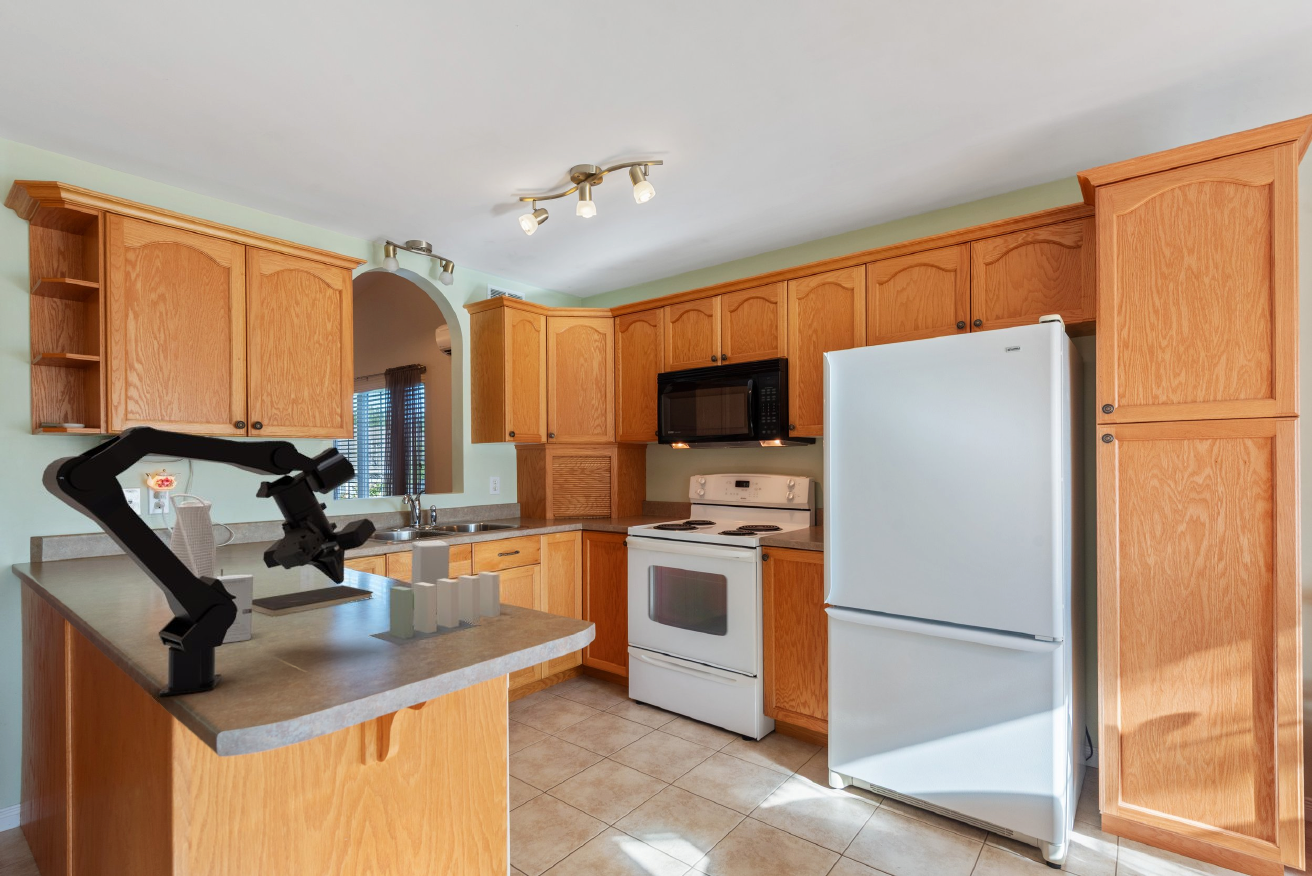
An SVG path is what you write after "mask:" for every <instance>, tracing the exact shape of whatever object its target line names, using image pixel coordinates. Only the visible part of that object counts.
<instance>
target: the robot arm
mask: <svg viewBox="0 0 1312 876" xmlns="http://www.w3.org/2000/svg"><path fill="white" fill-rule="evenodd" d="M147 455H150V456H157V457H166V458H175V459H182V460H183V459H184V460H189V461H197V462H198V461H201V462H205V463H206V462H207V463H216V464H224V465H228V466H232V467H234V468H237V469H239V470H242V471H246V472H249V473H253V474H256V475H259V476H260V475H261V476H280V477H278V478H277V479H275V480H273V481H267V480H266V481H265V480H264V481H261V482H260V487H259V489H257V491H256V494H255V497H256V498H257V499H259V498H260V499H270V498H271V497H272V499H273V501H275V503H276V504H275V505H277V507H278V509H279V511H280V512H281V514H282V516H283V518H284V519H285V521H283V523H281V526H282V527H281V529H282V530H283V534H284V536H283V537H282V538H280V539H279V538H278V539H277V540H276V541H275V542H274V543H273V544H272V545H271V546H269V547H268V548H267V549H266V550H265V551H264V552H263V557H262V558H263V559H262V560H263V561H264V563H265V565H266V568H268V569H271V568H276V567H280V566H281V567H282V568H283V569H284V570H291V569H292V568H296V567H303V566H306V565H309V566H313V567H314V568H316V569H318V570H319V571H320V572H321V573H323V574H324V575H325V576H326V577H328V578H329V579H330V580H331V581H333V582H334V583H335V584H336V585H340V584H342V583H343V582H345V552H346V551H347V550H348V551H349V550H352V549H356V548H359V547H362V546H363V545H364V544H365V543H366V542H367V541H368V540H369V539H370V537H371V536H372V535H373V534H374V533H375V532H376V531H377V529H376V526H375V525H374V522H373V521H372V520H371V519H368V518H362V519H357V520H355V521H350V522H348V523H347V524H346V525H345V526H344V527H343V528H342V529H341V530H339V531H335V530H336V529H337V528H338V526H337V524H336V522H330V521H329V519H328V517H327V515H326V514H325V512H324V511H325V510H326V509H327V508H328V507H327V505H326V503H325V502H319V500H318V498H317V496H316V495H315V493H320V494H322V495H326V494H328V493H330V492H332V491H333V490H336V489H337V488H339V487H341V486H342V485H344V484H346V483H348V482H349V481H351V480H353V479H354V478H355V476H356V472H355V467H354V466H353V463H352V462H351V461H349V459H348V458H347V457H346V456H345V455H344V454H343V453H341V452H339V450H338V448H337V447H335V446H334V447H328V448H326V449H325V450H323V451H322V452H320V453H319V454H317V455H315V456H313V457H309V456H308V455H305V454H303V453H301V452H298V449H297V448H296V446H295V444H293V443H292V442H289V441H287V440H251V441H250V440H246V441H245V440H244V441H243V440H242V441H241V440H232V439H224V438H219V437H212V436H211V437H210V436H205V435H198V434H190V433H184V432H176V431H171V430H165V429H164V430H163V429H157V428H154V427H151V426H149V425H139V426H133V427H132V426H131V427H128V428H125V429H123V431H121V433H119V434H116V435H115V436H113V437H112V438H110V439H108V440H105V441H104V442H102V443H100V444H97V445H95V446H94V447H91V448H90V449H87V450H86V451H83V452H82V453H80V454H78V455H72V456H71V455H70V456H63V457H59V458H57V459H55V460H53V461H52V462H51V463H50V464H48V465H47V466H46V467H45V469H44V471H43V475H42V479H41V483H42V485H43V486H44V488H45V490H46V491H47V492H49V494H51V495H52V496H54V497H56V498H57V499H58V500H60V501H61V502H62V503H64V504H65V505H67V506H69V507H70V508H71V509H74V510H75V511H77V512H79V513H80V514H81V515H84V516H85V517H87V518H88V519H90V520H91V521H93V522H95V523H96V525H98V526H99V527H100V528H101V530H102V531H104V533H105V534H106V535H108V537H110V539H111V540H113V542H114V543H115V544H116V545H117V546H118V547H119V548H120V549H121V551H123V552H124V553H125V555H127V556H128V557H129V558H130V559H131V560H132V561H133V562H134V563H135V564H136V565H137V566H138V567H139V568H140V569H141V571H142V572H144V573H145V574H146V575H147V576H148V577H149V579H150V580H152V582H154V584H155V585H156V586H158V588H159V589H161V591H162V592H163V594H164V596H165V598H166V601H167V604H168V606H169V608H170V611H171V612H172V613H173V615H174V616H175V617H174V616H173V618H171V620H169V621H168V623H166V624H165V625H164V627H163V628H161V629H160V630H159V632H158V636H159V639H160V641H161V643H162V644H163V646H168V656H167V657H168V659H167V660H168V664H167V667H168V670H167V671H168V673H167V684H166V685H165V686H164V687H163V688H162V689H161V690H160V691H159V694H158V695H159V696H160V697H164V696H172V695H181V694H189V693H196V692H204V691H210V690H214V688H215V687H216V685H217V684H218V683H219V681H220V680H222V678H223V677H222V676H223V675H222V673H217V674H216V648H217V647H221V646H223V644H224V643H223V640H224V638H225V635H226V633H227V630H228V629H229V628H230V627H231V625H232V624H233V623H234V621H235V619H236V615H237V612H238V609H237V606H236V604H235V603H234V602H233V601H232V600H233V599H236V596H233V595H231V594H230V593H229V592H227V590H226V589H225V587H224V585H223V584H222V582H221V581H220V580H219V579H217V577H216V578H215V577H213V578H211V577H206V576H201V577H200V578H197V577H196V576H194V575H193V573H192V572H191V571H190V570H189V569H188V568H187V567H186V566H185V565H184V564H183V563H182V562H181V561H180V560H179V558H178V557H177V556H176V555H175V554H174V553H173V552H172V551H171V550H170V547H169V546H168V545H166V543H164V541H163V540H162V539H161V538H160V537H159V536H158V535H157V534H156V533H155V531H154V530H153V529H151V527H150V526H149V525H148V524H147V522H146V521H144V519H142V518H141V517H140V516H139V514H138V513H137V512H136V511H135V510H134V509H133V508H132V507H131V505H130V504H129V502H128V501H127V497H126V494H125V492H124V490H123V487H122V485H121V483H120V482H119V479H118V478H117V476H119V475H121V474H122V473H124V472H126V471H127V470H128V469H130V468H131V467H132V466H134V465H135V464H136V463H137V462H139V461H140V460H141V459H143V458H144V457H146V456H147ZM293 472H299V473H296V474H295V475H293V476H291V475H289V474H291V473H293Z"/></svg>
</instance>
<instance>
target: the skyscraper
mask: <svg viewBox="0 0 1312 876" xmlns="http://www.w3.org/2000/svg"><path fill="white" fill-rule="evenodd" d="M176 497H187V498H192V499H195V500H185V501H181V502H180V503H179V505H178V506H177V504H176V501H175V498H176ZM169 499H170V501H171V503H172V507H173V508H174V512H175V516H176V517H175V521H174V523H173V528H172V532H171V533H172V534H171V536H170V542H169V543H170V544H169V549H170V550H171V551H172V552H173V553H174V554H175V555H176V556H177V557H178V558H179V560H180V561H181V562H182V563H183V564H184V565H185V566H186V567H187V568H188V569H189V570H190V571H191V572H192V573H193V575H194V576H196V577H197V578H200V577H201V576H206V577H211V578H215V577H214V576H215V569H216V558H217V549H216V547H217V545H216V537H215V532H214V528H213V522H212V519H211V515H210V510H211V508H212V502H210V501H208V500H207V501H206V500H203V499H202V498H200V497H199V496H197V495H193V494H188V493H175V494H172V495H170V496H169ZM220 576H224V568H220ZM174 617H175V615H174V616H173V618H174Z"/></svg>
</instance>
